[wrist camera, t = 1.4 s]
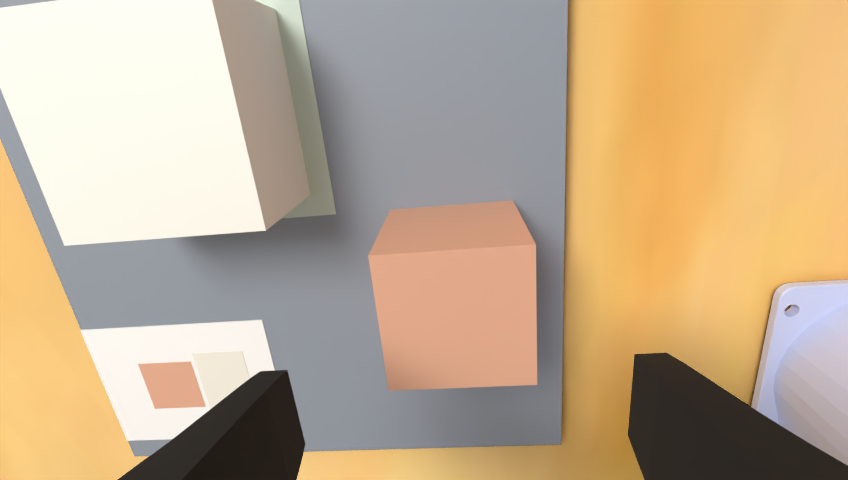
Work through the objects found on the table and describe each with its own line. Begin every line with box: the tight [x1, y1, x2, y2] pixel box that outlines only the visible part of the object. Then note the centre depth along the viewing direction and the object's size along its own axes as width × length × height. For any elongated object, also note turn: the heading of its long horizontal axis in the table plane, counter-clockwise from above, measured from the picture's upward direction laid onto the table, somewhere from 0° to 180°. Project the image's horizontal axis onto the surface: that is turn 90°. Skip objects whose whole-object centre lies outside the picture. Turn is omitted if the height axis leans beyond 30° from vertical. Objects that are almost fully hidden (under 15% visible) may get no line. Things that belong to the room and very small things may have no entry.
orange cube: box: [368, 200, 537, 391], centre depth 14 cm, size 4×4×4 cm
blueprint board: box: [0, 0, 568, 456], centre depth 16 cm, size 24×20×1 cm
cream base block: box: [0, 0, 311, 246], centre depth 13 cm, size 6×6×4 cm
